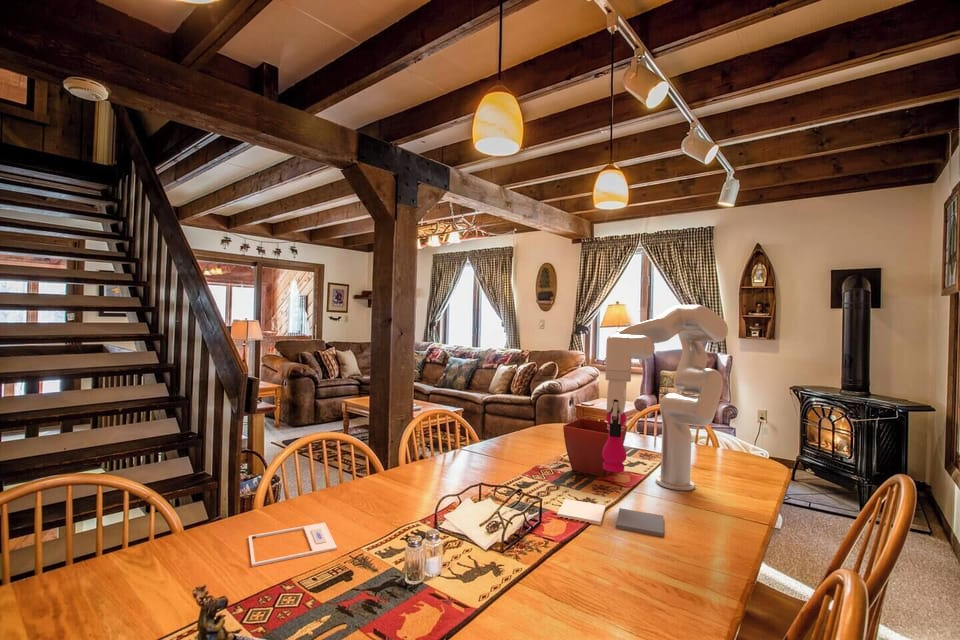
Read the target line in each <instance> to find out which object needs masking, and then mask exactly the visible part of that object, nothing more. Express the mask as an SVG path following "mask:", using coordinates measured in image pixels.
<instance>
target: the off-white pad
mask: <svg viewBox="0 0 960 640" xmlns="http://www.w3.org/2000/svg"><path fill="white" fill-rule="evenodd" d="M605 511H606V505H604V504H598V503H594V502H593V503H592V502H587V501H586V502H585V501H580V500H575V499H574V500H573V499H570V498H569V499H568V498H565V499H564V500H563V502H562V505H561V506H560V508H559V509H558V511H557V513H556V514H557V515H556V517H557V518H560V517H563V518H562V519H565V518H568V519H567V520H570V519H575V520H574V521H576V520H579V521H578V522H581V521H585V522H584V523H586V522H589V523H588V524H593V525H597V526H601V525H602V522H603V519H604V515H605Z"/></svg>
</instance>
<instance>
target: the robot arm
mask: <svg viewBox="0 0 960 640" xmlns="http://www.w3.org/2000/svg"><path fill="white" fill-rule="evenodd" d="M728 333H729V327H728V324H727V322H726V321H725V319H724V318H723V317H721V316H720V315H719V314H718V313H716V312H715V311H713V310H712V309H710V308H708V306H704V305H701V304H678V305H674V306H672V307H669V308H668V309H666V310H665V311H664V312H662V313H660V314H658V315H657V316H655V317H654V318H652V319H647V320H645V321H641V322H638V323H635V324H631V325H629V326H626V327H625V328H623V329H621V330H619V331H618V332H616V333H615V334H613V335H610V336H608V337H607V339H606V345H605V346H606V347H605V348H606V349H605V350H606V351H605V378H604V379H605V380H606V381H608V382H607V393H606V394H607V397H606V410H605V412H606V414H607V413H609V412H610V411H611V423H610V436H611V437H619V438H620V437H621V424H620V420H621V414H623V412H624V413H625V409H626V401H627V387H628V386H627V383H629V382H632V381H631V380H632V360H647V359H649V358H650V357H652V355H654V352H655V349H656V347H655V344H659V343H664V342H667V341H669V340H671V339H672V338H673V337H675V336H677V335H678V337H679V340H680V344H681V347H682V352H681V358H680V361H679V363H678V365H677V369H676V371H675V375H674V377H673V378H674V379H673V386H674V389H676V390H677V391H678V393H677V392H669V393H666V394H665V395H663V396H662V398H660V403H659V410H660V415H661V416H660V417H661V428H662V429H661V451H660V453H661V457H660V458H661V459H660V475H658V476H656V477H655V483H656V484H657V485H659V486H661V487H663V488H666V489H670V490H676V491H692V490H694V489H695V488H696V483H695V482H694V481H692V480H691V469H692V468H691V467H692V466H691V464H692V463H691V462H692V461H691V460H692V442H693V441H692V439H693V438H692V437H693V436H692V432H691V429H690V426H689V425H691V426H698V427H708V426H709V425H710V424H711V423H712V422H713V420H714V418H715V414H716V413H717V408H718V405H719V402H720V400H721V396H722V393H723V390H724V378H723V375H722V373H720V371H718V370H717V369H714V368H709V367H707V363H708V360H709V359H708V357H709V356H708V353H707V351H706V349H705V348H704V346H703V344H702V343H701V342H707V343H720V342H722V341H724V340H725V339H726V338H727V336H728ZM679 392H682V393H679ZM683 393H687V394H683ZM690 394H691V395H690ZM692 394H693V395H692ZM695 395H697V396H695ZM619 410H620V411H619ZM617 412H619V413H617ZM618 416H619V417H618ZM618 418H619V419H618Z"/></svg>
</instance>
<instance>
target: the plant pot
mask: <svg viewBox="0 0 960 640" xmlns="http://www.w3.org/2000/svg"><path fill="white" fill-rule="evenodd" d="M607 424H608V422H607V421H603V420H595V419H588V418H582V417H581V418H578V419H575V420H572V421H570V422H568V423H566V424H564V425H562V430H563V437H564V444H565V448H566V452H567V453H566V454H567V457H568V461H569V464H570V467H571V469H572V471H574V472H579V473H583V474H586V475H587V474H588V475H591V476H597V477H599V478H600V477H601V478H606V477H607V476H609V474H611V473H612V472H610V471H607V470H605V469H603V462H605V460H604V458H603V457H602V451H603V448H604V446H605V444H606V442H607V440H608V435H609V431H608V429H607V427H608V426H607ZM623 426H624V431H622V443H623V445H624V443H625V440H626V435H627V430H628V425H625V424H623Z"/></svg>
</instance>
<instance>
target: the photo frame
mask: <svg viewBox="0 0 960 640" xmlns="http://www.w3.org/2000/svg"><path fill="white" fill-rule="evenodd" d="M302 530H304V533H305V534H304V535H305V536H306V539H307V541H308V544H309V547H310V551H305V552H301V553H295V554H290V555H285V556H281V557H275V558H270V559H266V560H261V561H256V560H255V559H256V558H255V552H254V551H255V550H254V544H253V538H257V539H258V538H262V537H268V536H274V535H281V534H284V533H289V532H290V533H291V532H296V531H302ZM247 538H248V539H247V540H248V544H249V555H250V564H251V567H257V566H263V565H268V564H272V563H277V562H282V561H287V560H292V559H297V558H301V557H306V556H307V557H308V556H311V555H312V556H313V555H317V554H321V553H327V552H331V551H335V550H338V546H337V545H336V542H335V540H334V538H333V536H332V534H331V532H330V530H329V528H328V526H327V524H326V522H320V523H319V522H318V523H315V524H309V525H303V526H297V527H292V528H291V527H290V528H286V529H278V530H275V531H274V530H273V531H270V532H262V533H258V534H251V535H248V536H247Z"/></svg>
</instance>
